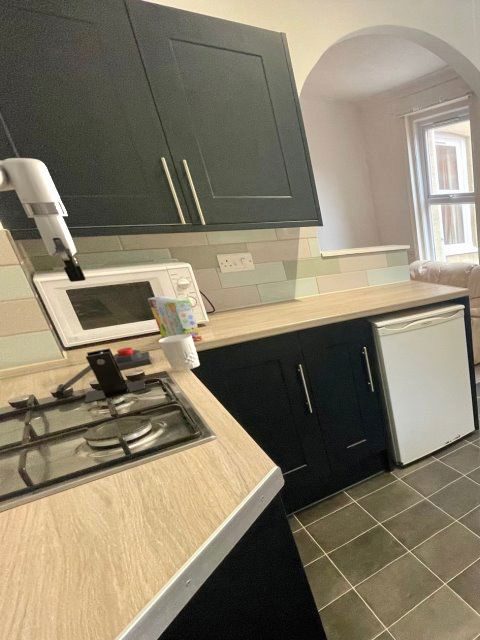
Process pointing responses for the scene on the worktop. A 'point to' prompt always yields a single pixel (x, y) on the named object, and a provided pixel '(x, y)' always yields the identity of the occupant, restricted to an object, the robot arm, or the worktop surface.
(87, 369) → the press lever
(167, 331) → the snack box
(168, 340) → the white cup
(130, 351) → the button
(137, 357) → the button box
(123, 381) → the lever stand
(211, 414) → the worktop surface
